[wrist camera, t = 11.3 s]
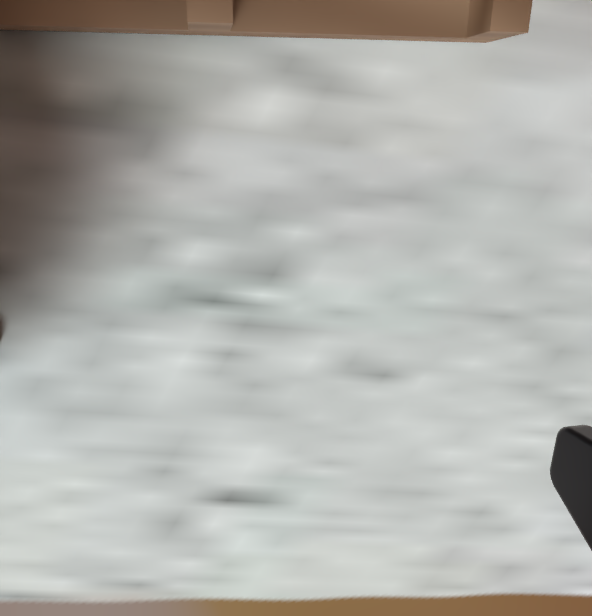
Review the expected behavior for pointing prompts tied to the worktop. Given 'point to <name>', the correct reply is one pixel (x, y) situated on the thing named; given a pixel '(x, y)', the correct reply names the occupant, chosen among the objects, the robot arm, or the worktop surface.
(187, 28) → the brown ridged slab
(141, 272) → the worktop surface
